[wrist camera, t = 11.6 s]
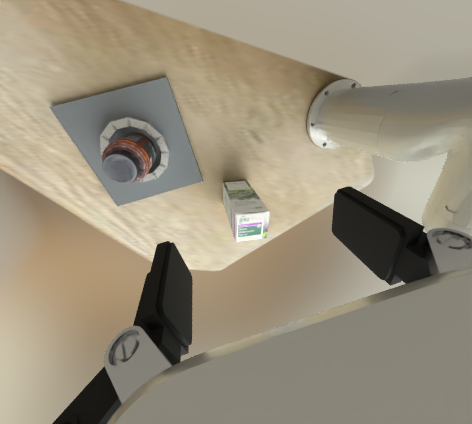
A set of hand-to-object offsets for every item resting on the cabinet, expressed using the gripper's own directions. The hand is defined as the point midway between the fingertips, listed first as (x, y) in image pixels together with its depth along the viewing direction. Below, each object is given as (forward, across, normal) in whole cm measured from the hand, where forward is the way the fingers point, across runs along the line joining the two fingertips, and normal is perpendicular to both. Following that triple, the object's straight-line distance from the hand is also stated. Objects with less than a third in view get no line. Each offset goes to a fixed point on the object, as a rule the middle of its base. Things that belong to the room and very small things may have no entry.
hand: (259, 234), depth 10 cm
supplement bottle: (+29, +13, -2) cm, 32 cm away
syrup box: (+30, -2, +12) cm, 33 cm away
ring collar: (+30, +13, -2) cm, 33 cm away
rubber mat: (+30, +13, -2) cm, 33 cm away
